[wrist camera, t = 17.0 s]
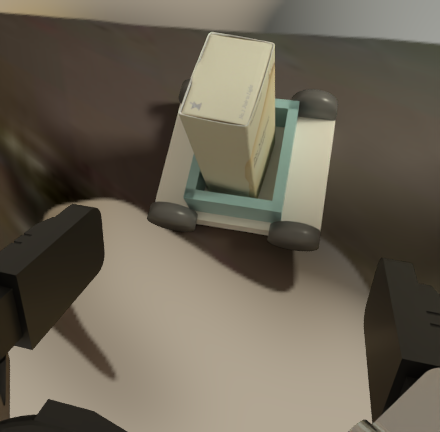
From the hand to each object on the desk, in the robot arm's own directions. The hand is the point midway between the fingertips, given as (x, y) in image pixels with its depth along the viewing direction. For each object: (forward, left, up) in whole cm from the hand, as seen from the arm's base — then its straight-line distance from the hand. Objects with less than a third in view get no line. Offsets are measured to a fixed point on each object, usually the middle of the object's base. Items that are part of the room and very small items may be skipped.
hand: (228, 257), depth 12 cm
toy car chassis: (+3, -12, -23) cm, 26 cm away
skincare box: (+3, -12, -21) cm, 25 cm away
